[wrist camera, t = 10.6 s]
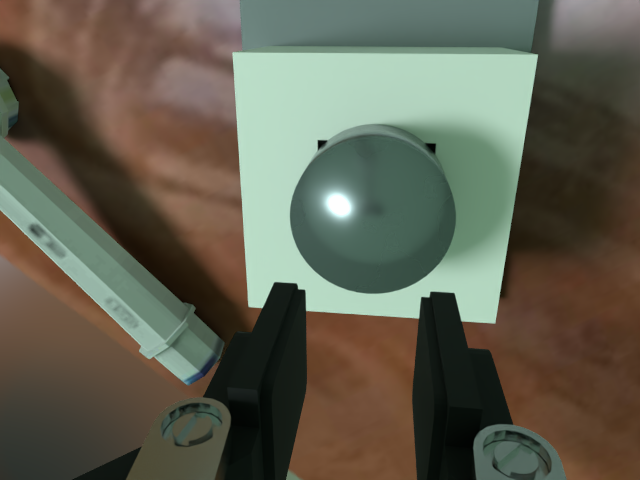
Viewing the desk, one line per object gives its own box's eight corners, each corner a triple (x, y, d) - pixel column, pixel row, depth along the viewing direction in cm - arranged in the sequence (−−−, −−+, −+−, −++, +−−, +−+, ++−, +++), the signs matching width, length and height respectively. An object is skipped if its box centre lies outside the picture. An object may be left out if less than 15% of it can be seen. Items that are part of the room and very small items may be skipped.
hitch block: (243, -16, 27) (190, -30, 20) (536, -18, 25) (596, -35, 18) (259, 283, 34) (224, 354, 27) (488, 297, 32) (518, 377, 25)
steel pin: (318, 102, 27) (287, 136, 19) (441, 104, 26) (465, 140, 18) (318, 215, 29) (291, 289, 21) (430, 220, 29) (447, 298, 20)
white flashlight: (167, 400, 34) (-193, 101, 25) (193, 335, 40) (-91, 74, 31) (224, 367, 33) (-139, 34, 23) (242, 305, 38) (-43, 18, 29)
